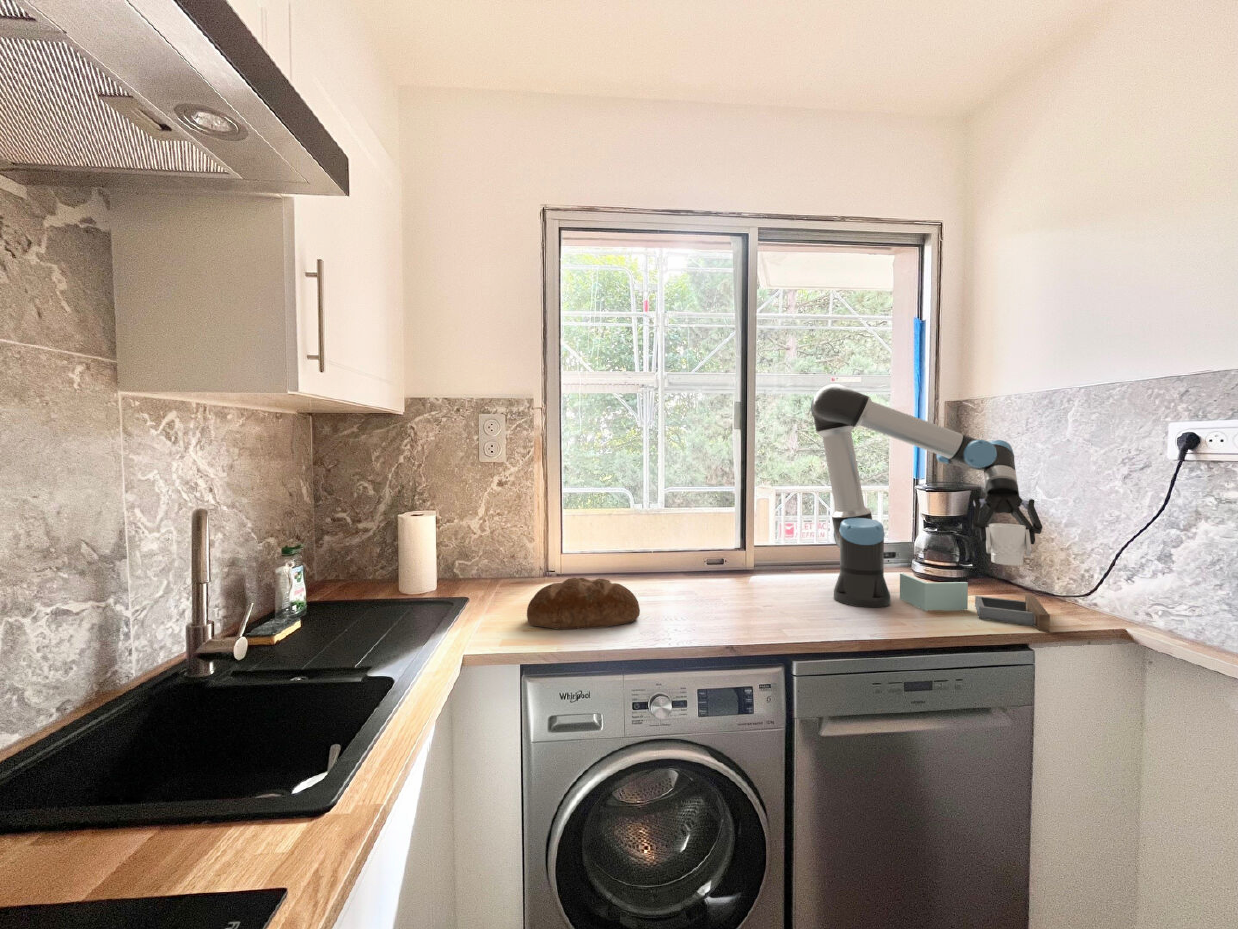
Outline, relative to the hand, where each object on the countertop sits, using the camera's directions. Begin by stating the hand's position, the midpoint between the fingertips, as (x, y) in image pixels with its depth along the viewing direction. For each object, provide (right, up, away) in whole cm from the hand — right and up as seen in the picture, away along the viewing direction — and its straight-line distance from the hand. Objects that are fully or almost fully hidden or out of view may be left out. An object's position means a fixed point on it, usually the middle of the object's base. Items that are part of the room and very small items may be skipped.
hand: (1008, 551), depth 135 cm
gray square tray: (+2, -18, +3) cm, 18 cm away
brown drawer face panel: (+7, -18, 0) cm, 19 cm away
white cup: (+2, -4, +3) cm, 5 cm away
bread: (-110, -19, +2) cm, 111 cm away
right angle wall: (-11, -18, +15) cm, 25 cm away
